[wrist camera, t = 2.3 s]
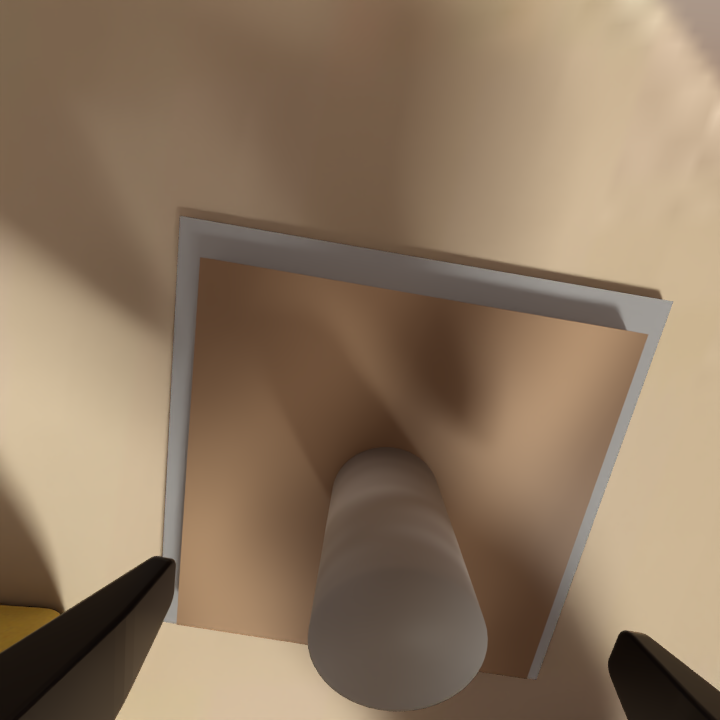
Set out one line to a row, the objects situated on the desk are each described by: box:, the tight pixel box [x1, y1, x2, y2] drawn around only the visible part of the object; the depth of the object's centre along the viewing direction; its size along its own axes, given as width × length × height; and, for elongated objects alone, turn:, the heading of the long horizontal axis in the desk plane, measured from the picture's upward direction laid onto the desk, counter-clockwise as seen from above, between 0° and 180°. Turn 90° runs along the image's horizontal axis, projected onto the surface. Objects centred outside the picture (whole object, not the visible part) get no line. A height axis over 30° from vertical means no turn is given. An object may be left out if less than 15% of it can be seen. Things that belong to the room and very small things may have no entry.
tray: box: [163, 216, 673, 680], centre depth 11 cm, size 14×14×1 cm
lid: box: [176, 257, 649, 711], centre depth 9 cm, size 12×12×5 cm
